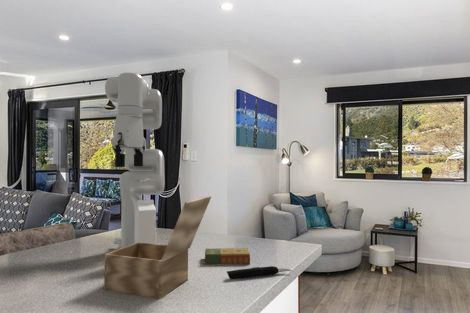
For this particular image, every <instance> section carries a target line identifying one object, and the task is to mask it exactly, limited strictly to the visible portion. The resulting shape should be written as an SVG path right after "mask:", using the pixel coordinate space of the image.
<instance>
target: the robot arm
mask: <svg viewBox="0 0 470 313" xmlns="http://www.w3.org/2000/svg"><path fill="white" fill-rule="evenodd" d="M104 91H105V96H106V98H107V99H108V100H109V101H110V102H113V103H117V115H116V117H115V122H114V130H113V137H112V138H110V143H111V148H112V150H113V154H114V167H115V168H125V169H126V170H128V171H125V172H123V173H122V174H120V177H119V181H118V182H119V190H120V197H121V210H120V211H121V214H120V216H121V219H120V220H121V224H120V226H121V229H120V233H121V234H120V238H119V237H116V238H115V239H114V241H113V244H115V245H118V247H117V248H116V250H118V249H121V248H123V247H126V246H129V245H131V244H134V243H135V208H136V206H137V201H138V200H143V199H142V197H140V196H146V195H148V196H149V195H150V196H151V195H153V196H155V195H161V194H162V193H163V192H164V190H165V185H166V182H165V179H166V178H165V174H166V173H165V156H164V153H163V151H162V150H160V149H157V148H147V140H146V138H145V137H144V130H158V129H160V128H161V126H162V122H163V121H162V120H163V119H162V118H163V117H162V116H163V115H162V114H163V101H162V100H163V98H162V94H161V92H160V91H159V90H158V89H155V88H150V86H149V84H148V82H147V81H146V80H145V79H144V78H143V77H142V76H141V75H140V74H139V73H136V72H123V73H120V74H119V75H118V77H117V76H110V77H108V78H107V79H106V81H105V84H104Z"/></svg>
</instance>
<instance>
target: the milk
mask: <svg viewBox="0 0 470 313" xmlns="http://www.w3.org/2000/svg"><path fill="white" fill-rule="evenodd" d="M156 208H157V207H156V206H155V201H154V199H142V200H138V201H137V206H136V208H135V243H137V242H141V243H151V244H157V243H156V242H157V241H156V240H157V239H156V238H157V237H156V235H157V234H156V232H157V231H156V230H157V229H156V228H157V209H156Z"/></svg>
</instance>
